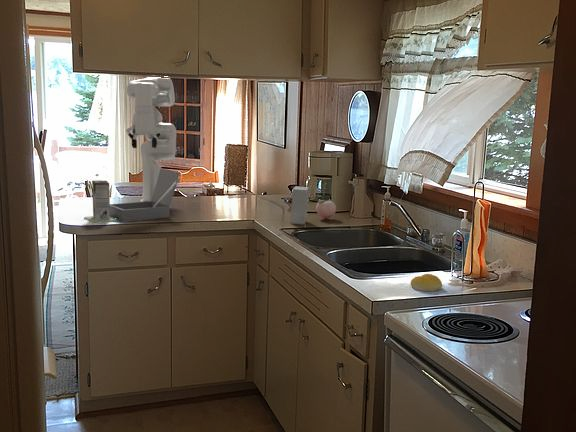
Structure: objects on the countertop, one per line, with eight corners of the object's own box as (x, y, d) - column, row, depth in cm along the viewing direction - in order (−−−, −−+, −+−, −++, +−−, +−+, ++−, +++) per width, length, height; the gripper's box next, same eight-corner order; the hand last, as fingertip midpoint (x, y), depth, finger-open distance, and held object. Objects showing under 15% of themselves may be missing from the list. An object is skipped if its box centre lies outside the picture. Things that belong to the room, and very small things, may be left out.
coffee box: (92, 216, 281) (91, 180, 278) (107, 216, 283) (106, 180, 280) (94, 220, 272) (93, 183, 269) (110, 219, 275) (109, 182, 272)
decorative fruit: (324, 221, 287) (324, 199, 285) (312, 218, 294) (313, 197, 292) (339, 220, 292) (340, 198, 291) (328, 217, 299) (329, 196, 297)
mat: (84, 218, 280) (84, 216, 279) (106, 216, 286) (106, 215, 285) (95, 223, 269) (95, 221, 269) (117, 221, 275) (117, 219, 275)
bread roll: (405, 287, 187) (405, 274, 186) (425, 283, 192) (425, 270, 191) (426, 294, 180) (427, 280, 180) (447, 289, 186) (448, 276, 185)
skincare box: (292, 220, 288) (293, 185, 285) (308, 221, 287) (309, 186, 284) (289, 223, 280) (290, 188, 277) (305, 224, 279) (306, 189, 276)
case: (107, 215, 288) (106, 170, 285) (162, 210, 305) (162, 168, 301) (124, 222, 273) (123, 175, 270) (181, 216, 290) (181, 172, 286)
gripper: (157, 110, 298) (158, 146, 301) (122, 109, 288) (123, 147, 291) (164, 110, 292) (165, 148, 295) (129, 110, 282) (130, 148, 285)
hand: (144, 147), depth 293 cm, fingers open, 9 cm apart
